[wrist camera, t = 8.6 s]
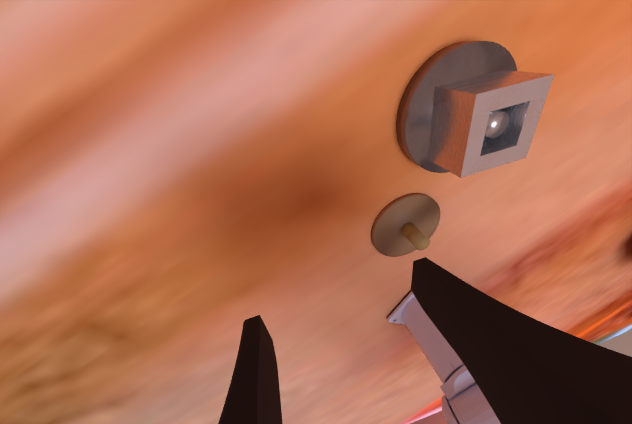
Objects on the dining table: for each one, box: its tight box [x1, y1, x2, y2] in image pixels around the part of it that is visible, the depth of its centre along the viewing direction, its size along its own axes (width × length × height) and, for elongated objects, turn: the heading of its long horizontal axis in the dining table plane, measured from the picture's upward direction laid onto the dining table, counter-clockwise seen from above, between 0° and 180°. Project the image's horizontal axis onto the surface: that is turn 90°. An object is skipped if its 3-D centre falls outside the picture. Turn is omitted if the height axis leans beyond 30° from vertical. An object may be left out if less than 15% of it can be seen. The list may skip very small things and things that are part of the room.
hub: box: [397, 41, 517, 173], centre depth 18 cm, size 9×9×4 cm
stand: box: [371, 193, 440, 257], centre depth 24 cm, size 7×7×3 cm
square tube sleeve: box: [428, 70, 554, 178], centre depth 17 cm, size 5×5×4 cm
